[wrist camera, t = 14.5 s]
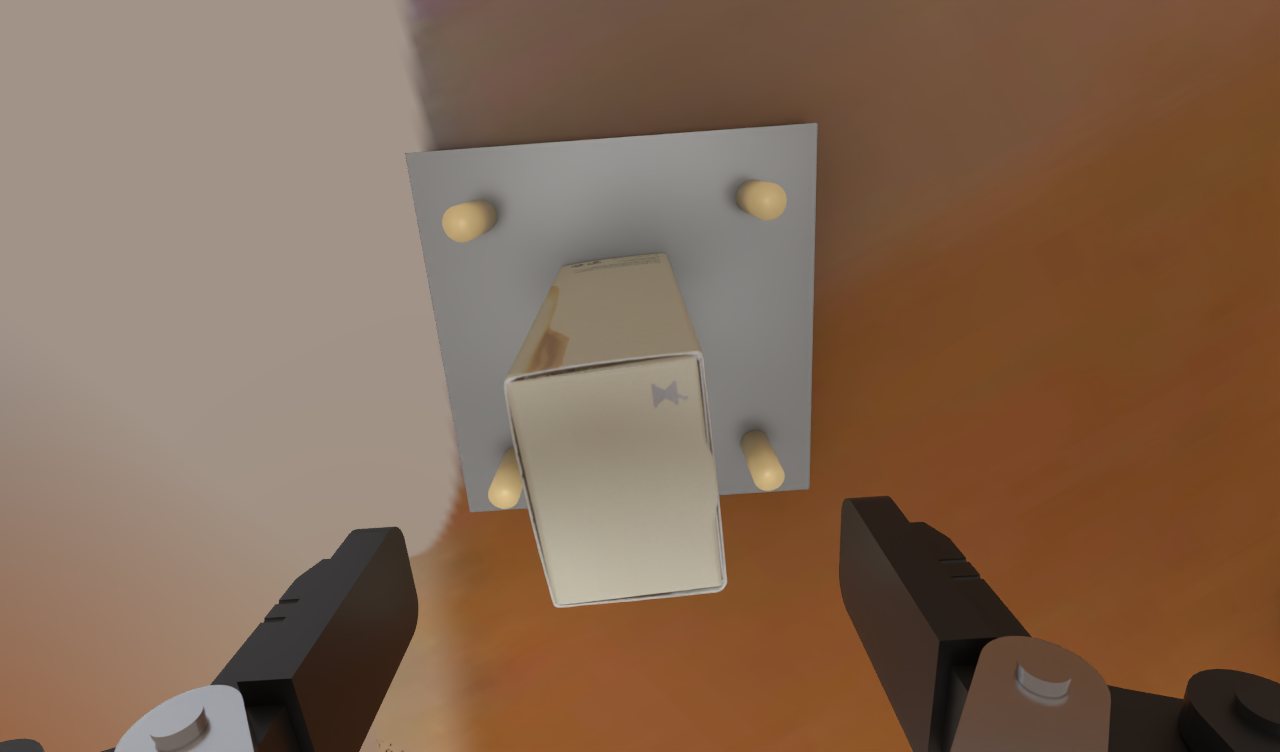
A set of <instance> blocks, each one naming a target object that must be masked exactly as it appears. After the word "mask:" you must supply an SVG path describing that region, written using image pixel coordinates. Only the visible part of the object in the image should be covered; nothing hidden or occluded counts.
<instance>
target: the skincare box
mask: <svg viewBox="0 0 1280 752" xmlns="http://www.w3.org/2000/svg"><path fill="white" fill-rule="evenodd" d="M504 393H505V399H506V406H507V412H508V418H509V423H510V430H511V435H512V440H513V445H514V450H515V455H516V460H517V464H518V469H519V473H520V478H521V482H522V485H523V490H524V495H525V499H526V503H527V507H528V511H529V516H530V520H531V524H532V528H533V532H534V536H535V539H536V543H537V547H538V551H539V555H540V559H541V562H542V565H543V569H544V574H545V577H546V580H547V584H548V587H549V591H550V594H551V598H552V602H553V604H554V606H555V607H558V608H561V607H572V606H581V605H593V604H605V603H616V602H630V601H639V600H647V599H657V598H667V597H678V596H687V595H696V594H706V593H715V592H720V591H721V590H722V589H724V587H725V586H726V584H727V574H726V564H725V552H724V541H723V531H722V520H721V511H720V500H719V491H718V481H717V473H716V465H715V456H714V446H713V437H712V429H711V420H710V411H709V402H708V392H707V385H706V377H705V367H704V358H703V353H702V350H701V348H700V345H699V342H698V339H697V336H696V333H695V331H694V328H693V325H692V322H691V320H690V317H689V314H688V312H687V309H686V306H685V303H684V301H683V298H682V296H681V293H680V290H679V287H678V284H677V282H676V279H675V276H674V274H673V271H672V268H671V265H670V262H669V260H668V257H667V254H665V253H658V254H647V255H637V256H628V257H620V258H611V259H604V260H596V261H590V262H584V263H578V264H573V265H567V266H563V267H561V268H560V270H559V272H558V274H557V276H556V278H555V280H554V282H553V284H552V286H551V288H550V290H549V292H548V295H547V296H546V298H545V300H544V302H543V304H542V306H541V308H540V310H539V313H538V315H537V317H536V318H535V320H534V322H533V324H532V326H531V328H530V330H529V333H528V335H527V337H526V339H525V341H524V343H523V345H522V347H521V349H520V351H519V352H518V355H517V357H516V358H515V361H514V363H513V365H512V367H511V368H510V370H509V372H508V374H507V376H506V377H505V380H504Z"/></svg>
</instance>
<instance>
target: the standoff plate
mask: <svg viewBox="0 0 1280 752" xmlns="http://www.w3.org/2000/svg"><path fill="white" fill-rule="evenodd" d="M405 155H406V161H407V166H408V172H409V177H410V183H411V188H412V194H413V199H414V205H415V211H416V216H417V221H418V227H419V233H420V238H421V243H422V249H423V255H424V260H425V265H426V271H427V277H428V282H429V288H430V293H431V299H432V304H433V310H434V315H435V321H436V326H437V331H438V337H439V343H440V348H441V354H442V359H443V365H444V370H445V376H446V381H447V387H448V392H449V398H450V403H451V409H452V414H453V420H454V425H455V431H456V436H457V442H458V448H459V453H460V459H461V464H462V470H463V475H464V481H465V486H466V492H467V497H468V503H469V508H470V512H481V511H495V510H510V509H525V508H528V507H527V503H526V499H525V495H524V490H523V485H522V482H521V478H520V473H519V469H518V464H517V460H516V455H515V450H514V445H513V440H512V435H511V430H510V423H509V418H508V412H507V406H506V399H505V393H504V380H505V377H506V376H507V374H508V372H509V370H510V368H511V367H512V365H513V363H514V361H515V358H516V357H517V355H518V352H519V351H520V349H521V347H522V345H523V343H524V341H525V339H526V337H527V335H528V333H529V330H530V328H531V326H532V324H533V322H534V320H535V318H536V317H537V315H538V313H539V310H540V308H541V306H542V304H543V302H544V300H545V298H546V296H547V295H548V292H549V290H550V288H551V286H552V284H553V282H554V280H555V278H556V276H557V274H558V272H559V270H560V268H561V267H563V266H567V265H573V264H578V263H584V262H590V261H596V260H604V259H611V258H620V257H628V256H637V255H647V254H658V253H665V254H667V257H668V260H669V262H670V265H671V268H672V271H673V274H674V276H675V279H676V282H677V284H678V287H679V290H680V293H681V296H682V298H683V301H684V303H685V306H686V309H687V312H688V314H689V317H690V320H691V322H692V325H693V328H694V331H695V333H696V336H697V339H698V342H699V345H700V348H701V350H702V353H703V358H704V367H705V377H706V385H707V392H708V402H709V411H710V420H711V429H712V437H713V446H714V456H715V465H716V473H717V481H718V491H719V495H729V494H744V493H758V492H773V491H788V490H802V489H809V480H810V435H811V391H812V346H813V301H814V256H815V211H816V166H817V123H809V124H795V125H782V126H768V127H755V128H741V129H727V130H714V131H700V132H687V133H673V134H660V135H646V136H632V137H619V138H605V139H592V140H578V141H564V142H551V143H537V144H524V145H510V146H496V147H483V148H469V149H456V150H442V151H428V152H415V153H405Z"/></svg>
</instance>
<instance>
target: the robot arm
mask: <svg viewBox="0 0 1280 752" xmlns="http://www.w3.org/2000/svg"><path fill="white" fill-rule="evenodd" d="M839 579H840V587H841V593H842V597H843V601H844V604H845V607H846V609H847V612H848V614H849V616H850V618H851V620H852V622H853V624H854V626H855V629H856V631H857V633H858V635H859V637H860V639H861V641H862V643H863V646H864V648H865V650H866V652H867V654H868V656H869V658H870V660H871V663H872V665H873V667H874V669H875V671H876V673H877V675H878V677H879V680H880V682H881V684H882V686H883V688H884V690H885V692H886V694H887V696H888V699H889V701H890V703H891V705H892V707H893V709H894V711H895V713H896V716H897V718H898V720H899V722H900V724H901V726H902V728H903V730H904V733H905V735H906V737H907V739H908V741H909V743H910V745H911V747H912V750H913V752H1280V684H1279V683H1277V682H1274V681H1272V680H1269V679H1266V678H1263V677H1260V676H1257V675H1253V674H1249V673H1245V672H1241V671H1234V670H1226V669H1212V670H1205V671H1201V672H1199V673H1197V674H1195V675H1193V676H1192V677H1191V678H1190V680H1189V682H1188V685H1187V688H1186V692H1185V695H1184V699H1178V698H1173V697H1167V696H1162V695H1156V694H1151V693H1145V692H1139V691H1134V690H1128V689H1123V688H1118V687H1114V686H1110V685H1107V684H1106V682H1105V681H1104V679H1103V678H1102V676H1101V675H1100V674H1099V673H1098V672H1097V670H1095V669H1094V668H1093V667H1092V666H1091V665H1090V664H1089V663H1088V662H1086V661H1085V660H1084V659H1082V658H1081V657H1079V656H1078V655H1076V654H1074V653H1073V652H1071V651H1069V650H1067V649H1065V648H1063V647H1061V646H1059V645H1056V644H1054V643H1051V642H1048V641H1045V640H1041V639H1038V638H1032V637H1031V636H1030V634H1029V633H1028V632H1027V631H1026V630H1025V628H1024V627H1023V626H1022V625H1021V624H1020V622H1019V621H1018V620H1017V619H1016V618H1015V616H1014V615H1013V614H1012V613H1011V612H1010V610H1009V609H1008V608H1007V607H1006V606H1005V604H1004V603H1003V602H1002V601H1001V600H1000V598H999V597H998V596H997V595H996V594H995V592H994V591H993V590H992V589H991V588H990V586H989V585H988V584H987V583H986V582H985V580H984V579H980V574H979V573H978V572H977V571H976V570H975V568H974V567H973V566H972V565H971V564H970V562H966V558H965V556H964V555H963V554H962V553H961V552H960V550H959V549H958V548H957V547H956V546H955V544H954V543H953V542H952V541H951V540H950V538H948V537H947V536H945V535H943V534H942V533H940V532H939V531H937V530H935V529H934V528H932V527H931V526H929V525H927V524H926V523H924V522H914V523H910V522H909V521H908V520H907V518H906V517H905V516H904V514H903V513H902V512H901V510H900V509H899V508H898V506H897V505H896V504H895V503H894V501H893V500H892V499H891V498H890V497H889V496H877V497H862V498H847V499H845V500H844V502H843V505H842V513H841V538H840V563H839ZM417 619H418V598H417V593H416V589H415V584H414V580H413V575H412V571H411V566H410V562H409V557H408V553H407V548H406V544H405V539H404V536H403V534H402V532H401V530H400V529H399V528H398V527H384V528H369V529H356V530H353V531H352V532H351V533H350V534H349V535H348V536H347V538H346V539H345V540H344V542H343V543H342V544H341V546H340V547H339V548H338V549H337V551H336V552H335V553H334V555H333V556H332V557H331V559H323V560H321V561H320V562H319V563H317V564H316V565H315V566H313V567H312V568H310V569H309V570H308V571H306V572H305V573H303V574H302V575H301V576H299V577H298V578H297V579H296V580H295V581H294V582H293V583H292V585H291V586H290V587H289V588H288V590H287V591H286V592H285V593H284V595H283V596H282V597H281V598H280V600H279V604H276V605H275V606H274V607H273V608H272V609H271V611H270V612H269V613H268V614H267V616H266V617H265V621H264V623H260V624H259V626H258V627H257V628H256V629H255V630H254V632H253V633H252V634H251V636H250V637H249V638H248V639H247V640H246V642H245V643H244V644H243V645H242V647H241V648H240V649H239V650H238V651H237V653H236V654H235V655H234V656H233V658H232V659H231V660H230V661H229V663H228V664H227V665H226V666H225V668H224V669H223V670H222V671H221V673H220V674H219V675H218V676H217V677H216V679H215V680H214V681H213V682H212V684H211V685H210V686H204V687H199V688H196V689H193V690H189V691H187V692H184V693H182V694H179V695H177V696H175V697H173V698H171V699H169V700H167V701H165V702H164V703H162V704H160V705H159V706H157V707H155V708H154V709H152V710H151V711H149V712H148V713H147V714H145V715H144V716H143V717H142V718H140V719H139V720H138V721H137V722H136V723H135V724H134V725H133V726H132V727H131V728H130V729H129V730H128V731H127V732H126V733H125V735H124V736H123V737H122V738H121V740H120V741H119V743H118V745H117V747H115V748H112V749H108V750H105V751H102V752H359V751H360V749H361V746H362V744H363V742H364V740H365V738H366V736H367V733H368V731H369V729H370V727H371V725H372V723H373V721H374V719H375V716H376V714H377V712H378V710H379V708H380V706H381V704H382V701H383V699H384V697H385V695H386V693H387V691H388V689H389V686H390V684H391V682H392V680H393V678H394V676H395V674H396V671H397V669H398V667H399V665H400V663H401V661H402V659H403V656H404V654H405V652H406V650H407V648H408V646H409V643H410V641H411V639H412V637H413V635H414V632H415V629H416V625H417ZM0 752H45V751H44V749H43V748H42V746H41V745H40V743H38V742H36V741H34V740H30V739H15V740H9V741H4V742H0Z"/></svg>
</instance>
